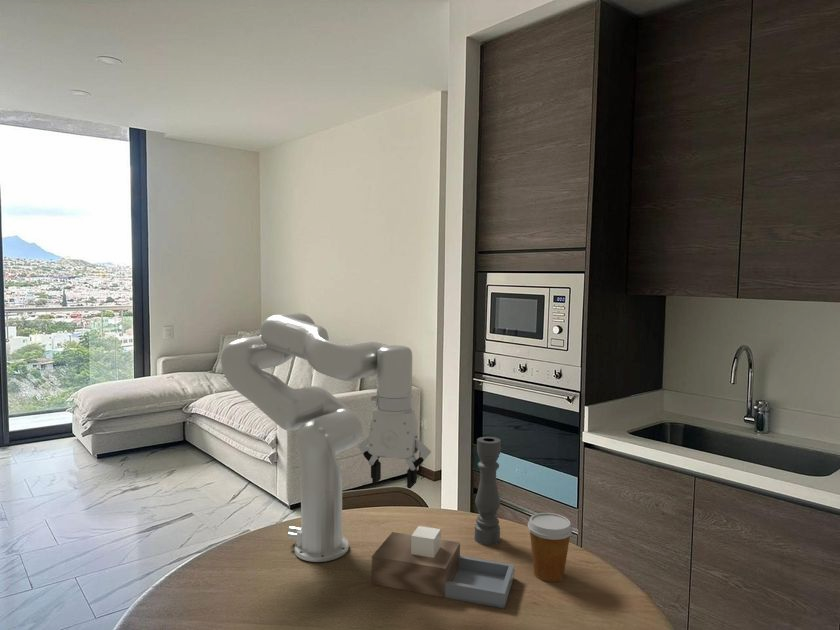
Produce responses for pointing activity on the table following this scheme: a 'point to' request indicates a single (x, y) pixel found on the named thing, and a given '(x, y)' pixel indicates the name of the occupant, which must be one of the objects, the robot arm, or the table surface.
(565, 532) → the disposable coffee cup
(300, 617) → the table surface
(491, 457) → the candle holder
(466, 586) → the box
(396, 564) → the brown wooden box
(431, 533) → the white block
